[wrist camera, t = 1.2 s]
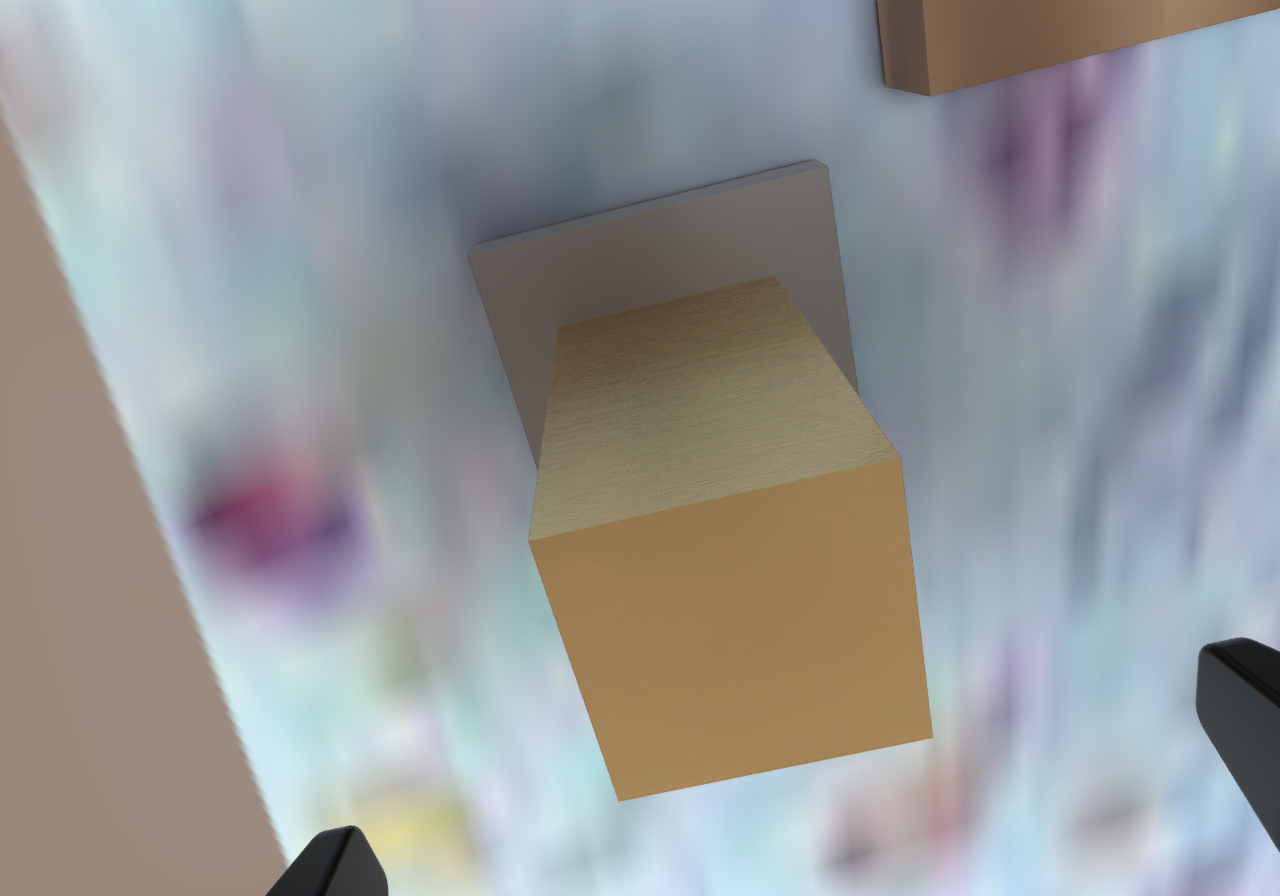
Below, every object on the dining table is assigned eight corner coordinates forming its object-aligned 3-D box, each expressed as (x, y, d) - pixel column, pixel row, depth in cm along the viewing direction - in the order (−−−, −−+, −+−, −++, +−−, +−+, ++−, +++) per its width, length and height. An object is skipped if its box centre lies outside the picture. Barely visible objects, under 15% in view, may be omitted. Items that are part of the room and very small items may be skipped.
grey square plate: (815, 159, 17) (827, 166, 16) (863, 502, 21) (876, 523, 20) (474, 244, 18) (467, 255, 17) (578, 565, 21) (577, 589, 20)
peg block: (774, 275, 17) (900, 457, 10) (807, 468, 19) (932, 737, 12) (558, 327, 17) (529, 540, 10) (612, 512, 19) (618, 801, 12)
